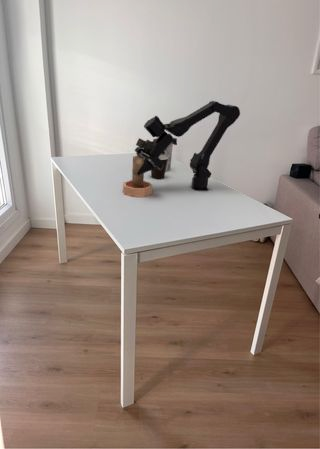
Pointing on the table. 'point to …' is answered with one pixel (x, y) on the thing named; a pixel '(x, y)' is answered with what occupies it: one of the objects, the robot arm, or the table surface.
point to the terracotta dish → (137, 189)
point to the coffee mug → (160, 173)
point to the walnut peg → (137, 164)
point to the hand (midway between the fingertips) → (135, 172)
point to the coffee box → (167, 155)
